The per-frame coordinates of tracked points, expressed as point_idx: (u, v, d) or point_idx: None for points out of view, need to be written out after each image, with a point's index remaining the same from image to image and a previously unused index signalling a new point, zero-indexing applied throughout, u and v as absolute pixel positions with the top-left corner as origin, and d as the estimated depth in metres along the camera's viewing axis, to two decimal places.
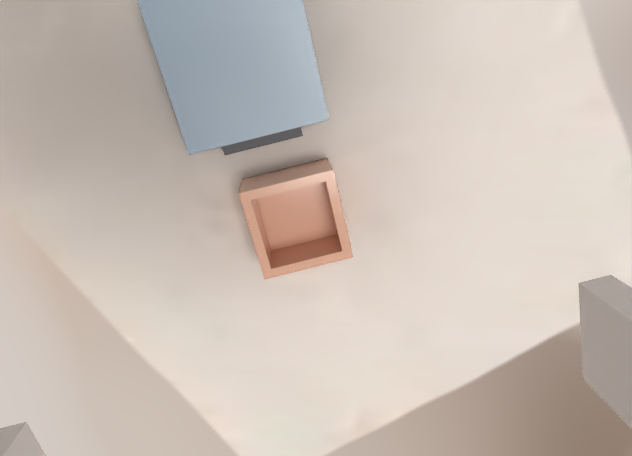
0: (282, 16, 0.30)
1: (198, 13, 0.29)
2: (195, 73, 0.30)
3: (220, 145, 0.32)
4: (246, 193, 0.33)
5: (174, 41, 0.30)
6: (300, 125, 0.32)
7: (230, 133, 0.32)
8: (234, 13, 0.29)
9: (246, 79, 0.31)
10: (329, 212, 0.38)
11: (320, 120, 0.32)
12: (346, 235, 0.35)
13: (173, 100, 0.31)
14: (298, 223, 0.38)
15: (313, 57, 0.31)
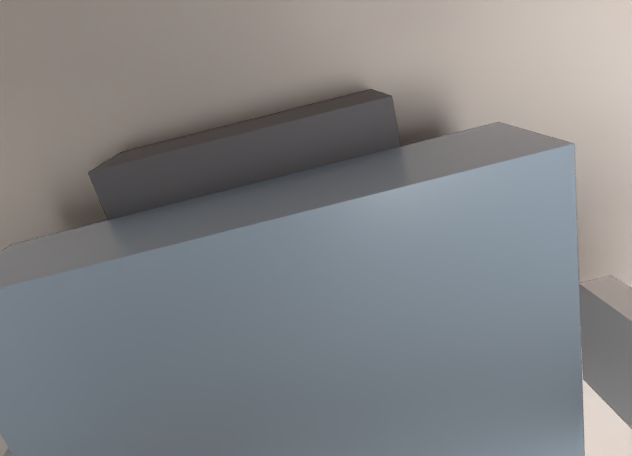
0: (494, 336, 0.08)
1: (181, 343, 0.07)
2: None
3: None
4: None
5: (91, 428, 0.08)
6: None
7: None
8: (319, 336, 0.08)
9: None
10: None
11: None
12: None
13: None
14: None
15: (577, 439, 0.09)
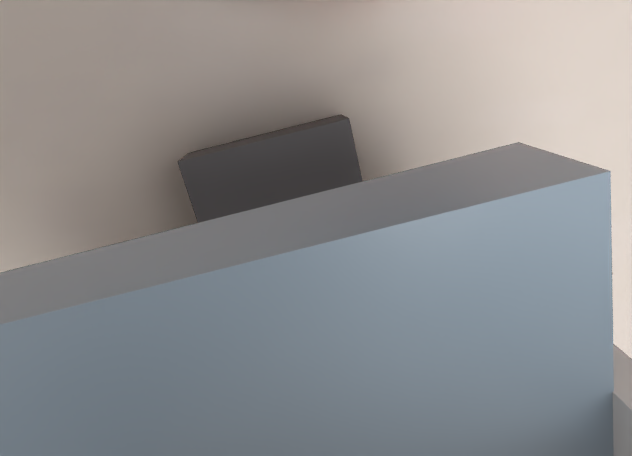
0: (518, 379, 0.07)
1: (175, 389, 0.07)
2: None
3: None
4: None
5: None
6: None
7: None
8: (327, 380, 0.07)
9: None
10: None
11: None
12: None
13: None
14: None
15: None
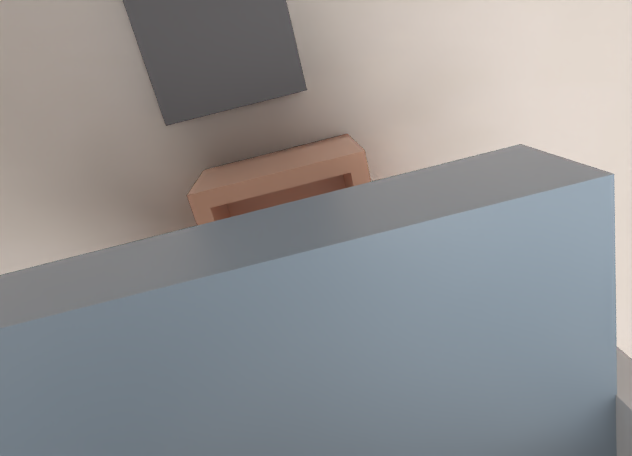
0: (521, 383, 0.07)
1: (175, 393, 0.07)
2: None
3: None
4: (201, 195, 0.18)
5: None
6: None
7: None
8: (327, 384, 0.07)
9: None
10: None
11: None
12: None
13: None
14: None
15: None
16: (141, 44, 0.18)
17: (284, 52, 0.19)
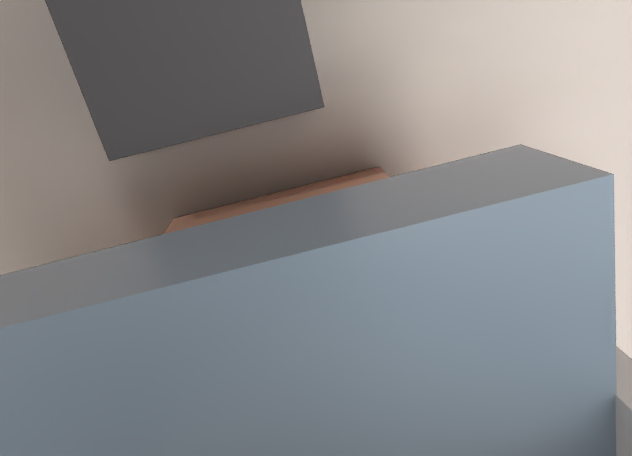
0: (520, 383, 0.07)
1: (175, 392, 0.07)
2: None
3: None
4: None
5: None
6: None
7: None
8: (327, 385, 0.07)
9: None
10: None
11: None
12: None
13: None
14: None
15: None
16: (65, 36, 0.11)
17: (290, 50, 0.12)
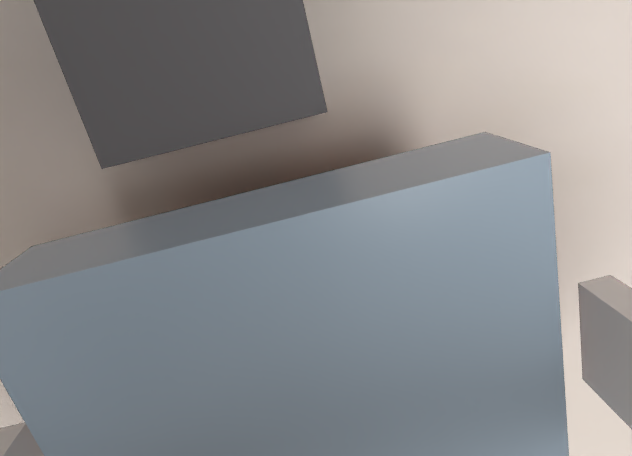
0: (480, 330, 0.09)
1: (191, 335, 0.08)
2: None
3: None
4: None
5: (107, 415, 0.09)
6: None
7: None
8: (318, 330, 0.08)
9: None
10: None
11: None
12: None
13: None
14: None
15: (560, 428, 0.10)
16: (55, 38, 0.11)
17: (291, 52, 0.11)
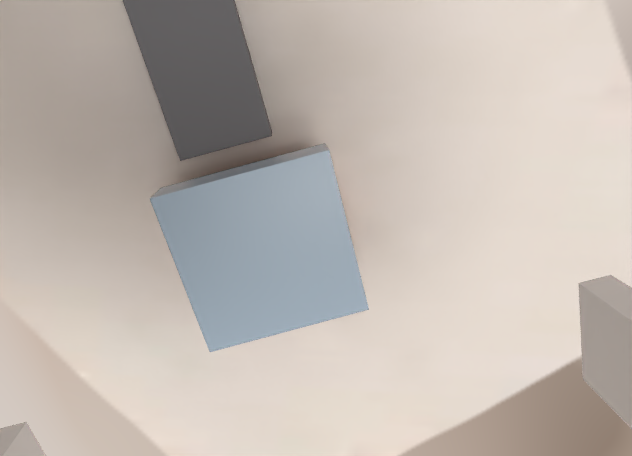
0: (316, 209, 0.26)
1: (220, 210, 0.25)
2: (216, 270, 0.27)
3: (245, 341, 0.28)
4: None
5: (193, 239, 0.26)
6: (336, 316, 0.28)
7: (257, 328, 0.28)
8: (261, 208, 0.26)
9: (274, 274, 0.27)
10: None
11: (358, 310, 0.28)
12: None
13: (192, 298, 0.27)
14: None
15: (351, 248, 0.27)
16: (164, 110, 0.28)
17: (255, 113, 0.29)
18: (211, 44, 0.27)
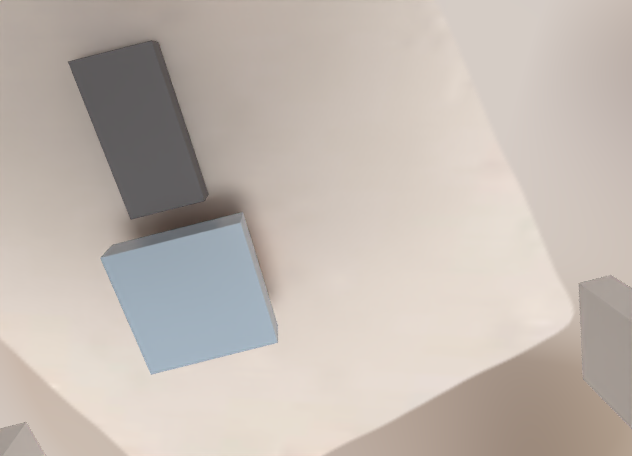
0: (232, 266, 0.33)
1: (156, 267, 0.33)
2: (154, 312, 0.34)
3: (179, 366, 0.35)
4: None
5: (135, 288, 0.33)
6: (251, 348, 0.35)
7: (188, 356, 0.35)
8: (188, 266, 0.33)
9: (201, 315, 0.34)
10: None
11: (269, 343, 0.35)
12: None
13: (136, 333, 0.34)
14: None
15: (261, 295, 0.34)
16: (117, 180, 0.35)
17: (191, 183, 0.36)
18: (154, 131, 0.34)
